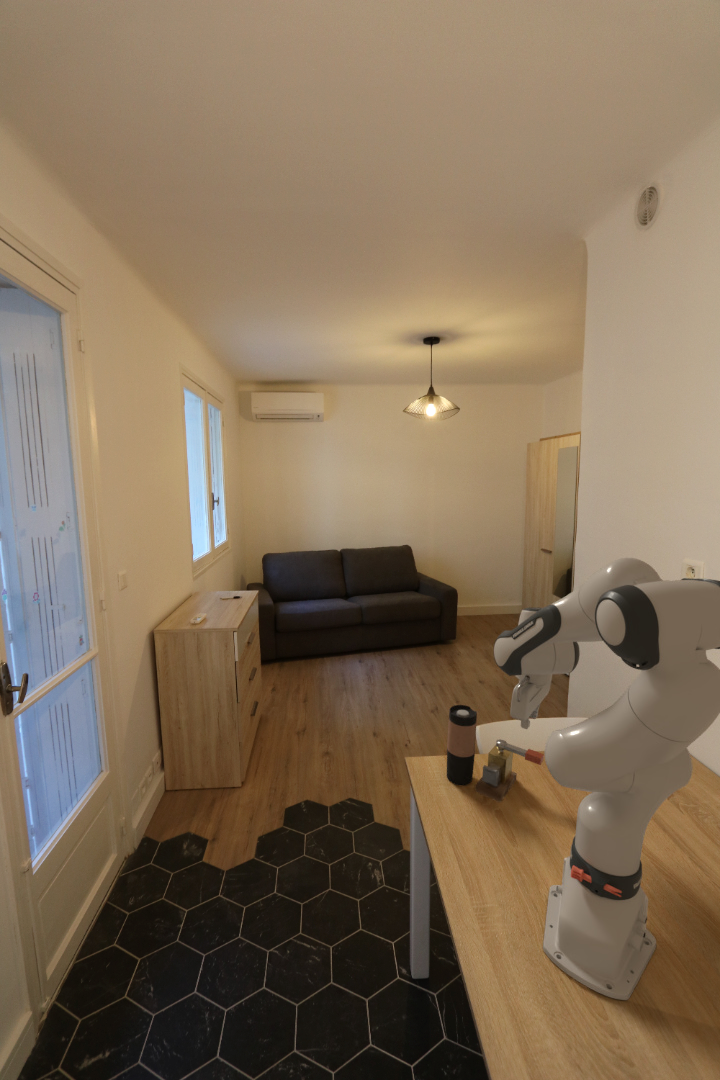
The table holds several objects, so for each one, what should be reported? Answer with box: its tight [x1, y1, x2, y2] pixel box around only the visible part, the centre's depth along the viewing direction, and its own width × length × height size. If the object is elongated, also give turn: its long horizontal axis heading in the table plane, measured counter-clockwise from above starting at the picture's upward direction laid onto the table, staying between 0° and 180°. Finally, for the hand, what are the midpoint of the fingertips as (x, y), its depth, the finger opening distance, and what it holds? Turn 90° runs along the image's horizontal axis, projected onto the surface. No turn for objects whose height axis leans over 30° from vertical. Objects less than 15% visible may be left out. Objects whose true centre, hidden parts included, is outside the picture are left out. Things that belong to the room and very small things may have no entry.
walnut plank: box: [474, 771, 518, 803], centre depth 132 cm, size 12×7×2 cm, turn 143°
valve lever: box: [495, 739, 545, 766], centre depth 129 cm, size 12×3×2 cm, turn 53°
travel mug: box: [446, 704, 478, 787], centre depth 134 cm, size 8×8×20 cm
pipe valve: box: [481, 744, 514, 788], centre depth 131 cm, size 11×5×8 cm, turn 143°
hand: (529, 722), depth 121 cm, fingers open, 5 cm apart
